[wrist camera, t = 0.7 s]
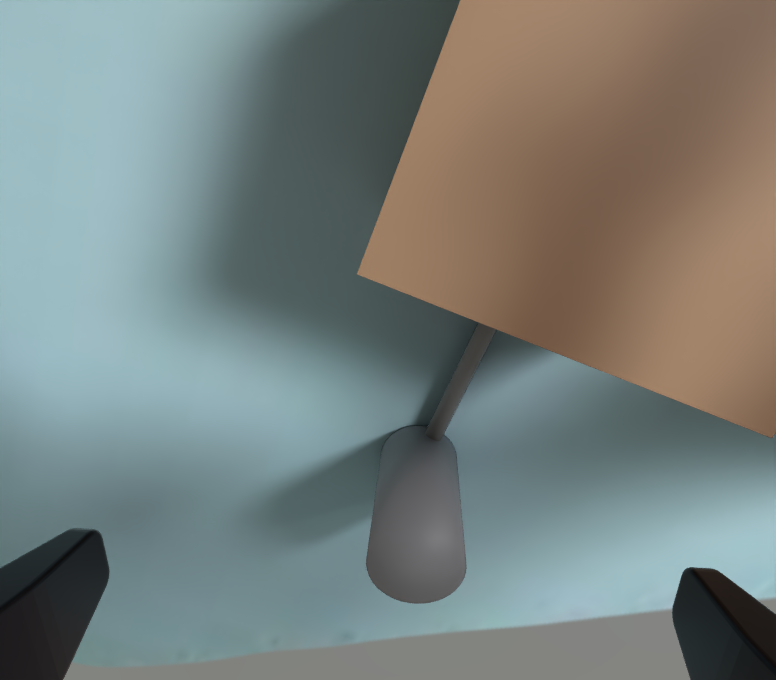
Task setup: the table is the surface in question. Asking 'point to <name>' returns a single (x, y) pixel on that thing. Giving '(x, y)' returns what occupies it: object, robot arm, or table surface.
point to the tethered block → (423, 500)
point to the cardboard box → (602, 191)
